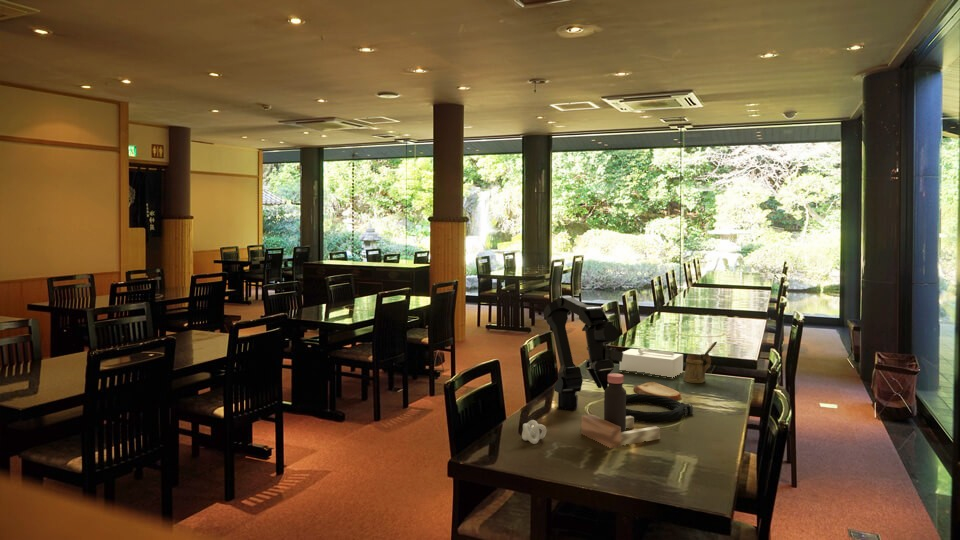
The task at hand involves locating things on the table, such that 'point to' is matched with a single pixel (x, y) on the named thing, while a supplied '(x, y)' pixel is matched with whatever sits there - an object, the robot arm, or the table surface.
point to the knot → (530, 431)
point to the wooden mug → (697, 366)
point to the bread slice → (657, 390)
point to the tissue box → (652, 362)
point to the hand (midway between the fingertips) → (602, 389)
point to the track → (615, 431)
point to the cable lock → (675, 414)
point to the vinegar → (615, 401)
